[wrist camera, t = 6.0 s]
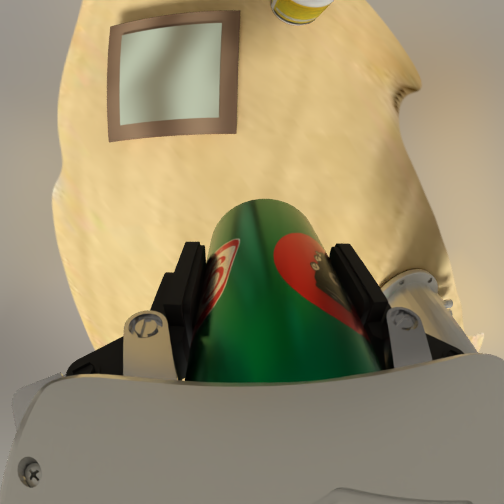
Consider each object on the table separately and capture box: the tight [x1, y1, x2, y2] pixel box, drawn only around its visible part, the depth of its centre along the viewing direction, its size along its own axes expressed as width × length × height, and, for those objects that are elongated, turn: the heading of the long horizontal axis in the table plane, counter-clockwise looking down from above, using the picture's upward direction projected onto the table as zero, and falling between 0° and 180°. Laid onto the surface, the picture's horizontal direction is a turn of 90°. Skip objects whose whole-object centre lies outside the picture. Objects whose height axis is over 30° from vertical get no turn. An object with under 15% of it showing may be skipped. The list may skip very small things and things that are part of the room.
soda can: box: [185, 199, 383, 383], centre depth 9 cm, size 5×5×12 cm
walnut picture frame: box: [107, 11, 240, 142], centre depth 20 cm, size 12×12×3 cm
